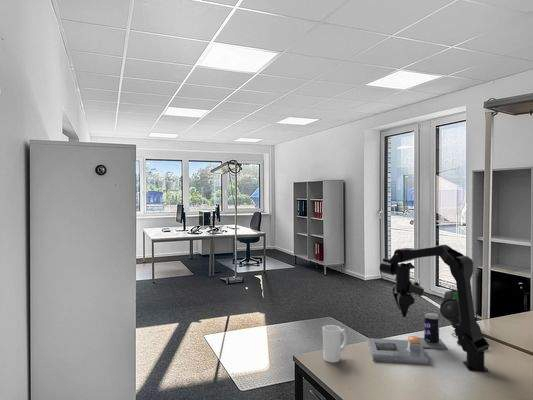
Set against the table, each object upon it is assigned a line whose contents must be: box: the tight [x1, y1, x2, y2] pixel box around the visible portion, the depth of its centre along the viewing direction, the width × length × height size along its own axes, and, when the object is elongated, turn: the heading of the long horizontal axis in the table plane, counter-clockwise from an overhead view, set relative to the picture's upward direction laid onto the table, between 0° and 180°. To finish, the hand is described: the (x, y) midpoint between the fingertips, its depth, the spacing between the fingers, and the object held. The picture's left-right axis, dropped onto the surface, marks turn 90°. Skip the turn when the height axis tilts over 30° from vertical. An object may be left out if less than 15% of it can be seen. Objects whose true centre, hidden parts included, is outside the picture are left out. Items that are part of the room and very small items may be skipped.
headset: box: [439, 289, 461, 345], centre depth 167 cm, size 18×14×29 cm
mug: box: [322, 324, 348, 364], centre depth 144 cm, size 10×7×12 cm, turn 109°
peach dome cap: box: [407, 335, 421, 344], centre depth 147 cm, size 4×4×3 cm
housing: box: [368, 337, 430, 365], centre depth 148 cm, size 16×20×5 cm
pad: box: [419, 337, 449, 351], centre depth 157 cm, size 10×10×1 cm
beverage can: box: [423, 312, 440, 345], centre depth 157 cm, size 6×6×12 cm
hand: (402, 313), depth 162 cm, fingers open, 9 cm apart
